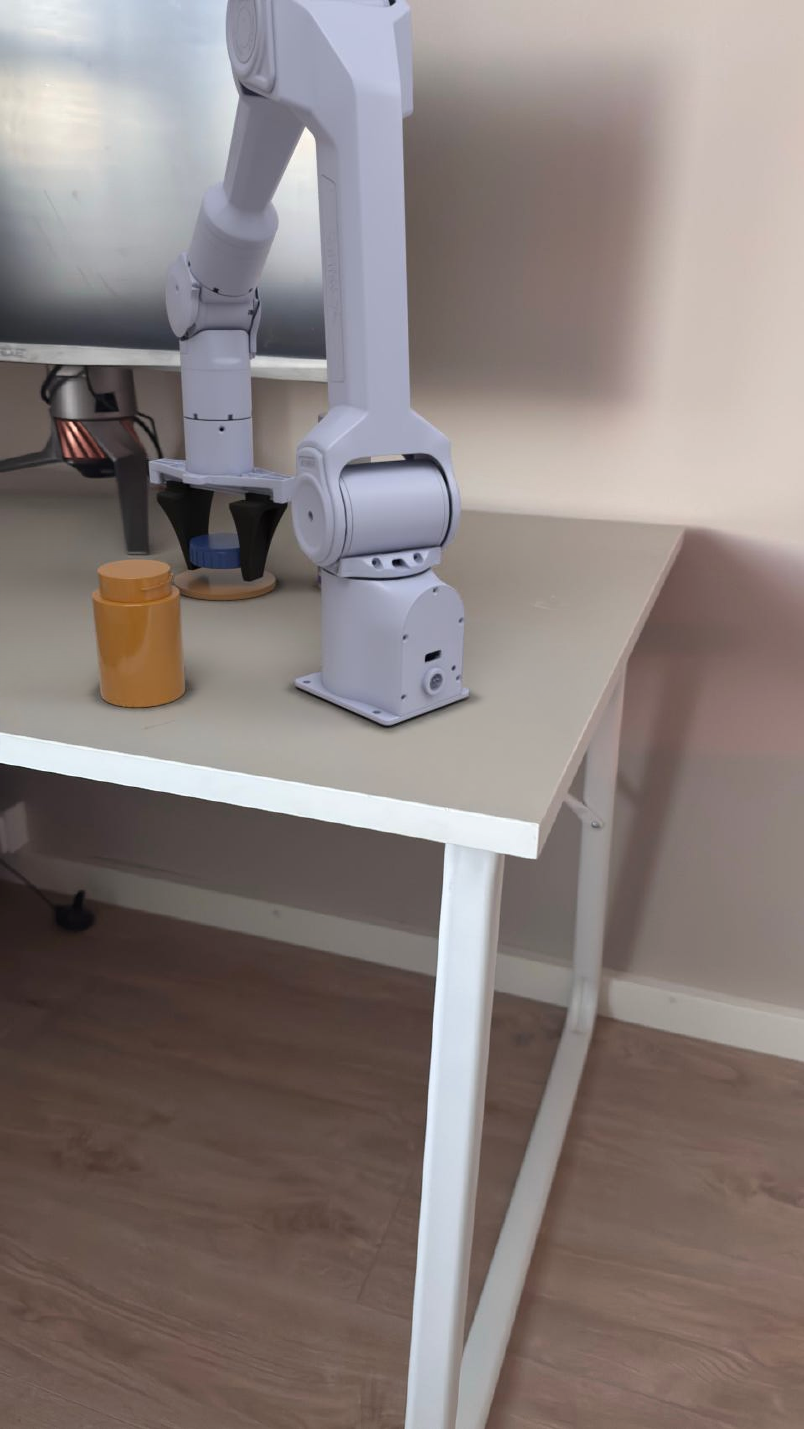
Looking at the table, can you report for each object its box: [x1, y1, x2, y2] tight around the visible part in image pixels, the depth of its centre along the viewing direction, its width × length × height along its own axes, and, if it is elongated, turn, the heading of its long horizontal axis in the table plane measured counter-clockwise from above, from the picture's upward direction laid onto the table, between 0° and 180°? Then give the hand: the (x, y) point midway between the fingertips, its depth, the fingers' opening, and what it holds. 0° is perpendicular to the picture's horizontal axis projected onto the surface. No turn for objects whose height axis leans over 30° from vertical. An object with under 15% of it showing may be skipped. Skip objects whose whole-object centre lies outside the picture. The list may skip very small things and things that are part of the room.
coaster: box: [173, 567, 277, 601], centre depth 96 cm, size 9×9×1 cm
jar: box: [91, 558, 186, 708], centre depth 71 cm, size 6×6×9 cm
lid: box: [189, 532, 241, 569], centre depth 95 cm, size 6×6×2 cm
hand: (224, 573), depth 96 cm, fingers closed on lid, 6 cm apart
